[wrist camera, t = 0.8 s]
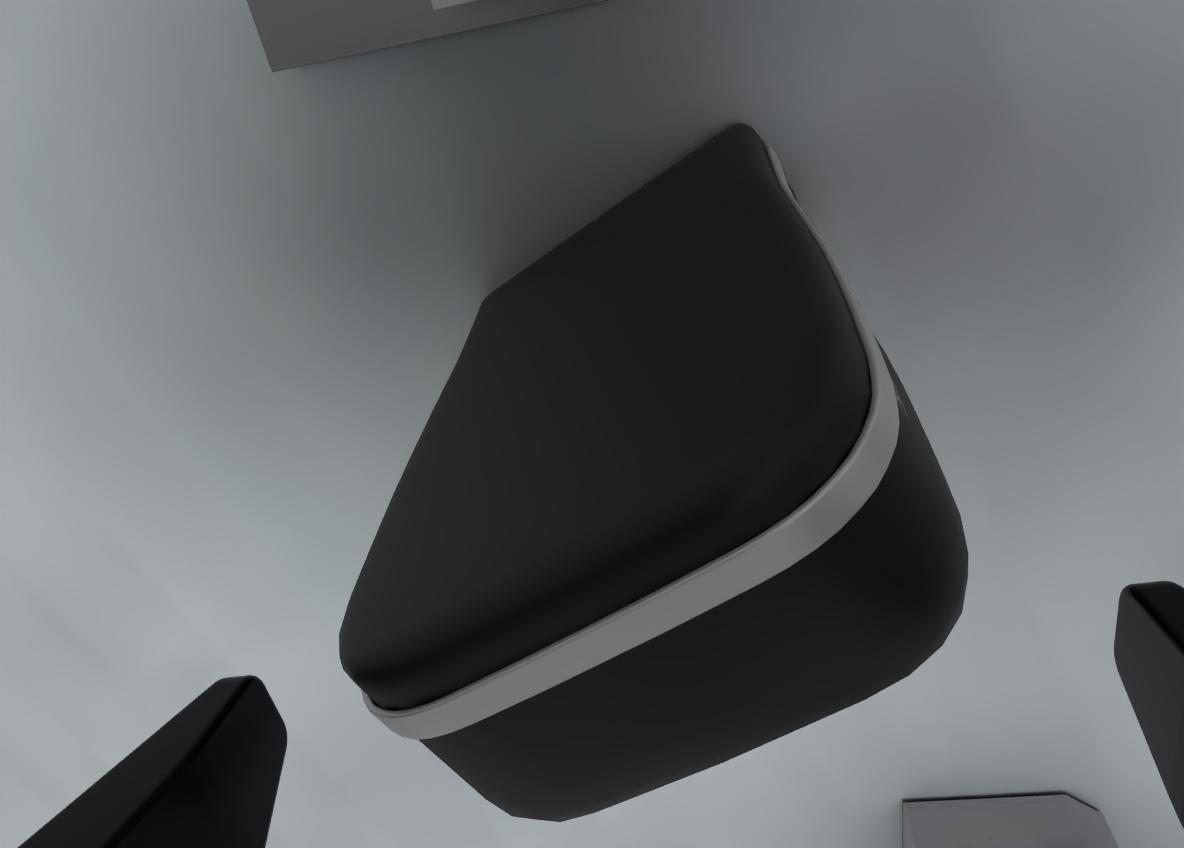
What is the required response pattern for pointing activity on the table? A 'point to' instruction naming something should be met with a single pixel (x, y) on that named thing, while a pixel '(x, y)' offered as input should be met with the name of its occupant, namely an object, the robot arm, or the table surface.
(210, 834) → the robot arm
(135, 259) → the table surface
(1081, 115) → the table surface
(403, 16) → the charging dock
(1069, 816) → the game console
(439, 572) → the battery charger
